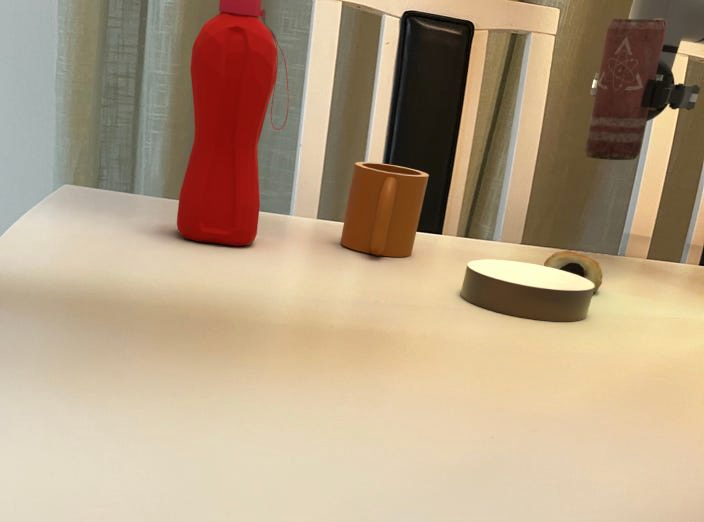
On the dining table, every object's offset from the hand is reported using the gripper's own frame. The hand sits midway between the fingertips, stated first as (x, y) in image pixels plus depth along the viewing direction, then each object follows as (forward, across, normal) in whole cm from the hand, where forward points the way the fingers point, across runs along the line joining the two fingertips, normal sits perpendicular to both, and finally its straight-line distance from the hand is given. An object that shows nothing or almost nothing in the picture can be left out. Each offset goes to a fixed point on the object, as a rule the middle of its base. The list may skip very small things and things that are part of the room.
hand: (653, 94), depth 113 cm
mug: (+9, +27, -20) cm, 35 cm away
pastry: (+9, +4, -20) cm, 22 cm away
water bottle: (+18, +43, -20) cm, 51 cm away
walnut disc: (+24, +8, -20) cm, 32 cm away
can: (-3, +2, -7) cm, 8 cm away
